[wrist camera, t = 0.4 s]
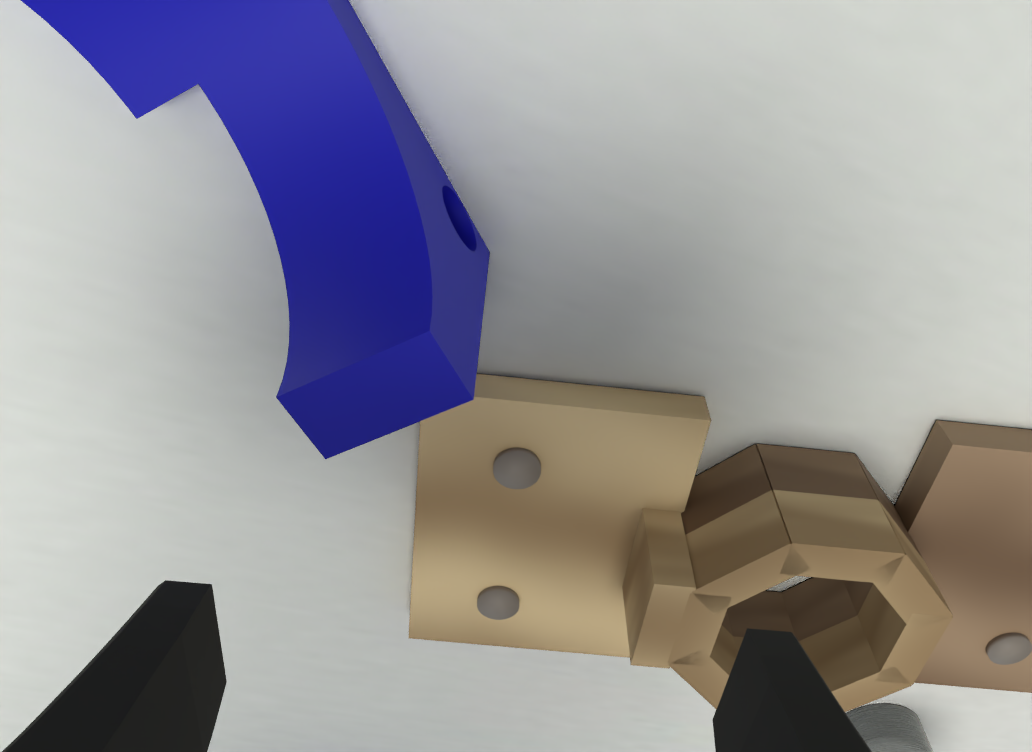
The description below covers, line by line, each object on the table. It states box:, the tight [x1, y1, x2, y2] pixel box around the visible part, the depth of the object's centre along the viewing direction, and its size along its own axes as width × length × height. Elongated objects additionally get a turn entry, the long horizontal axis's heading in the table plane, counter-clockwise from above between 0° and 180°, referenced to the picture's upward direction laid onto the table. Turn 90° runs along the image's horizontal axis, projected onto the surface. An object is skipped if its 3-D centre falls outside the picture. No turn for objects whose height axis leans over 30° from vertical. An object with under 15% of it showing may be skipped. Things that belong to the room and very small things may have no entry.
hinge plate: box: [681, 420, 1032, 693], centre depth 23 cm, size 9×13×2 cm
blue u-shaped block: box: [21, 0, 490, 459], centre depth 14 cm, size 12×4×6 cm, turn 27°
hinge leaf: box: [409, 374, 953, 712], centre depth 22 cm, size 9×13×4 cm
